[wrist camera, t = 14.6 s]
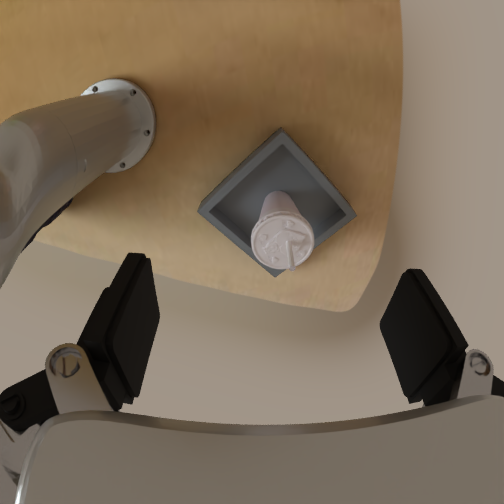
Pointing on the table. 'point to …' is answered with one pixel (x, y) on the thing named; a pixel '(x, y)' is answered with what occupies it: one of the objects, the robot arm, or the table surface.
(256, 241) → the smoothie
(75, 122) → the robot arm
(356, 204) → the table surface
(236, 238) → the tray
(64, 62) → the table surface
